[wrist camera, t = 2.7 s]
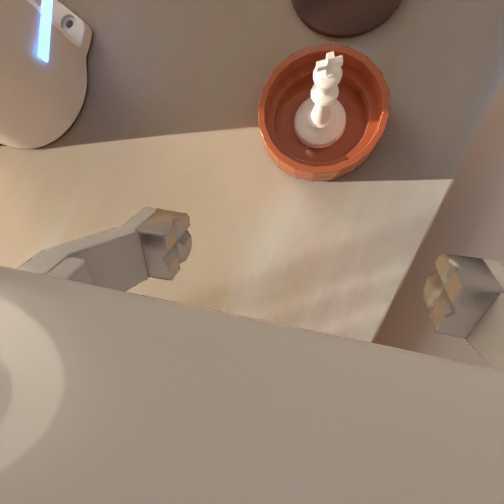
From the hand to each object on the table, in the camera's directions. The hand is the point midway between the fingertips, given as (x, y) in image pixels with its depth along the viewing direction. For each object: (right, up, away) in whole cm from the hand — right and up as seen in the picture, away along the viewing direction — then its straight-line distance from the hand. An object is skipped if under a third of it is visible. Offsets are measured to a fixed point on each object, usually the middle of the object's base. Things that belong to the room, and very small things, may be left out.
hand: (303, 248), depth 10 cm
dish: (+5, +12, +19) cm, 23 cm away
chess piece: (+5, +12, +19) cm, 23 cm away
